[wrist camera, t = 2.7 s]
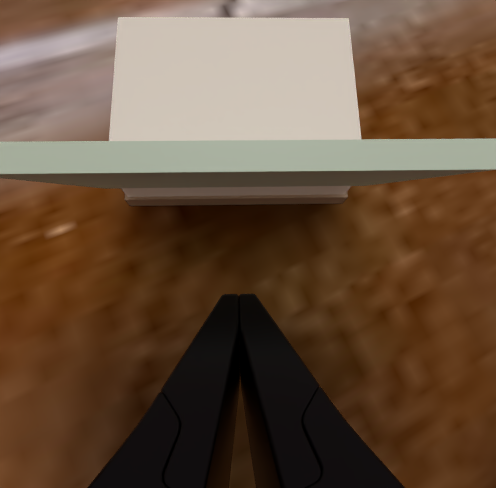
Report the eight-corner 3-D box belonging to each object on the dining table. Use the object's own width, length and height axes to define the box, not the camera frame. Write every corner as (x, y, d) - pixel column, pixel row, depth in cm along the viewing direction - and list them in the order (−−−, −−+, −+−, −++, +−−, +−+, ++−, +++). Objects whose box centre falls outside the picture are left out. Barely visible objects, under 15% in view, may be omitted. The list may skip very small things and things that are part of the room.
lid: (365, 170, 19) (364, 185, 20) (104, 173, 19) (105, 188, 19) (500, 138, 9) (498, 169, 10) (-41, 141, 9) (-37, 173, 9)
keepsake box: (342, 203, 24) (368, 172, 20) (130, 206, 24) (102, 174, 19) (330, 72, 27) (351, 15, 22) (137, 72, 26) (114, 14, 22)
